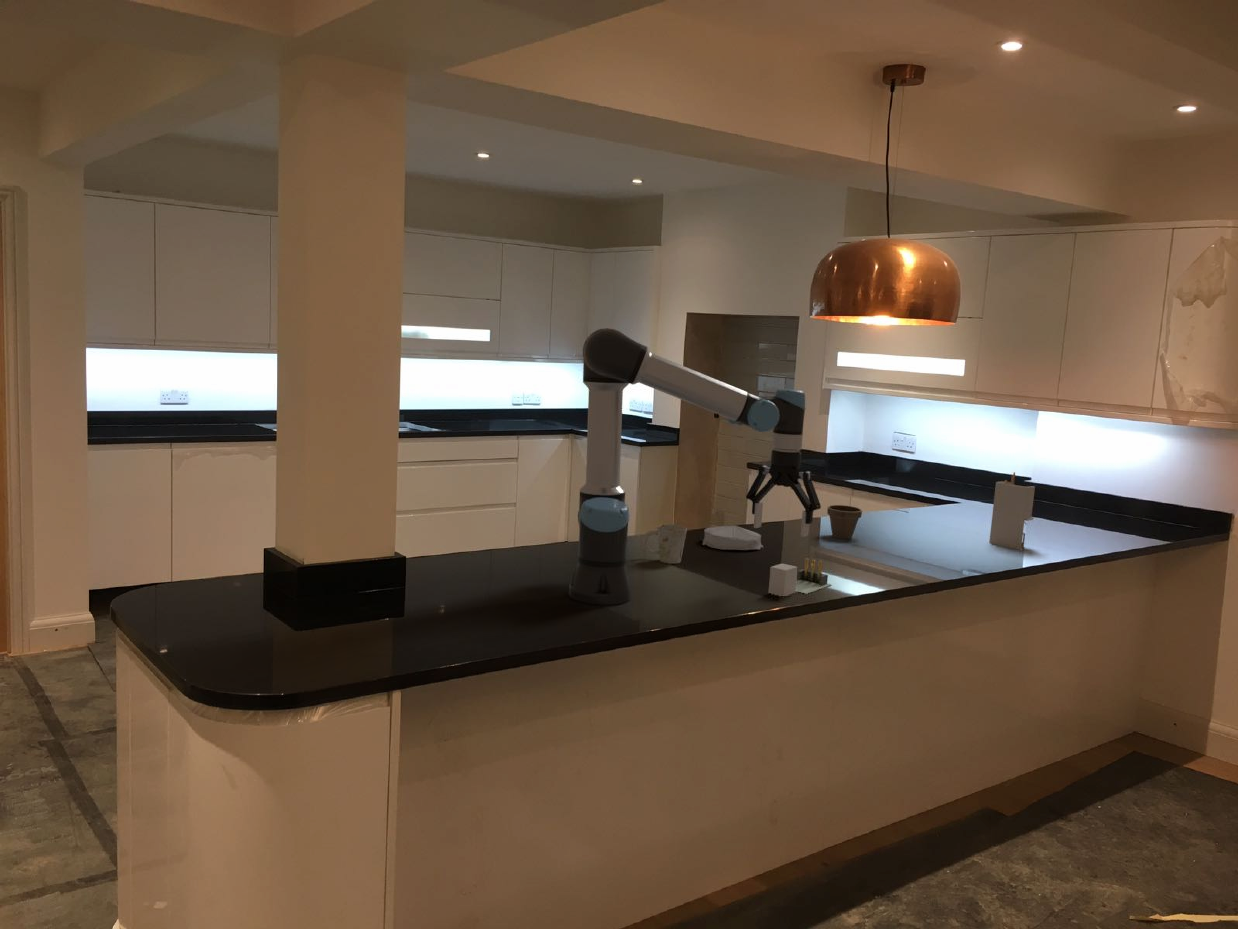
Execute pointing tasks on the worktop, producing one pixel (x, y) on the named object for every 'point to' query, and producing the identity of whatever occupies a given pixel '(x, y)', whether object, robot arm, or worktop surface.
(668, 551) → the mug
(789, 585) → the plug housing
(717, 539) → the food container
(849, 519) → the flower pot
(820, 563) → the header pins
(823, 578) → the board
